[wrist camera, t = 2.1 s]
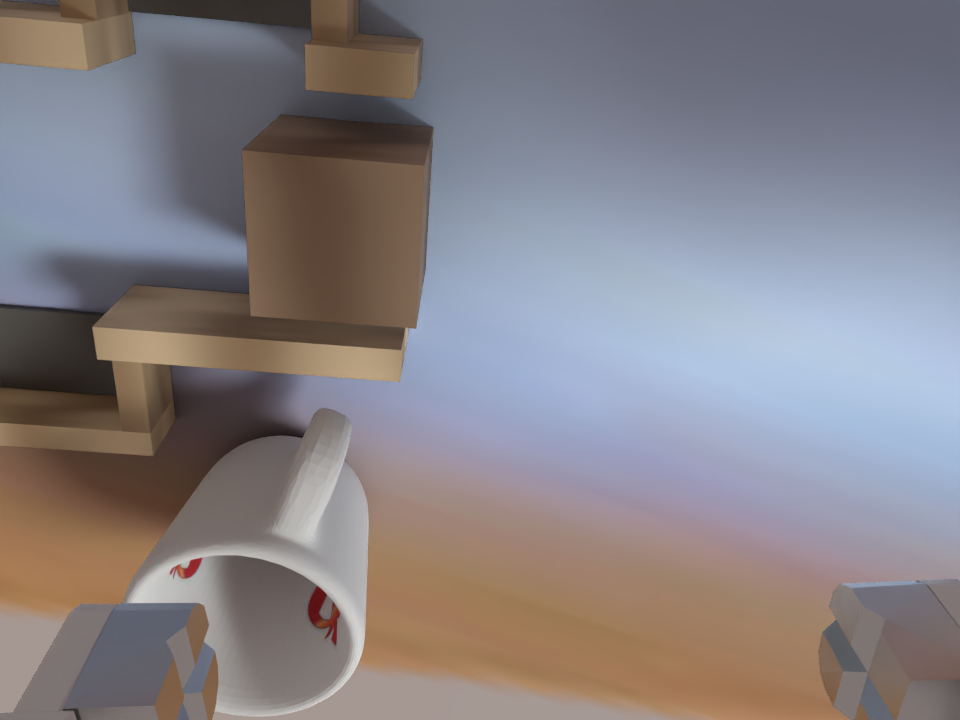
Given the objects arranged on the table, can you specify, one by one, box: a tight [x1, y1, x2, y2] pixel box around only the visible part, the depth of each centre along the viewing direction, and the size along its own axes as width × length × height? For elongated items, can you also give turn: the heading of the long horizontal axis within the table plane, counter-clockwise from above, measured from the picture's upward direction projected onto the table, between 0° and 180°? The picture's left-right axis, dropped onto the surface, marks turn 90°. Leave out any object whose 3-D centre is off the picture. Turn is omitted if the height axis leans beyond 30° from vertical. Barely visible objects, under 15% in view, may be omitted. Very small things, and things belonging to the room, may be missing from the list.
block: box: [242, 114, 433, 329], centre depth 25 cm, size 5×5×5 cm
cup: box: [123, 408, 369, 716], centre depth 29 cm, size 11×8×8 cm
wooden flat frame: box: [0, 0, 423, 456], centre depth 26 cm, size 18×19×4 cm
